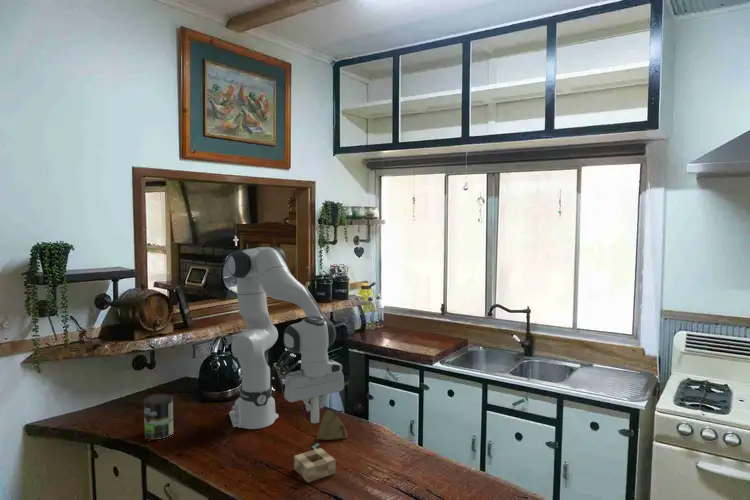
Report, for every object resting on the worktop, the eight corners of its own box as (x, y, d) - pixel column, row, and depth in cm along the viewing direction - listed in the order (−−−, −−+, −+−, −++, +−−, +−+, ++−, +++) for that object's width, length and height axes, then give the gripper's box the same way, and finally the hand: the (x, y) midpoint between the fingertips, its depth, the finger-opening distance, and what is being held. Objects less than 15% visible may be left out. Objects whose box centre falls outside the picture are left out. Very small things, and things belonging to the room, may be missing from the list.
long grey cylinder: (309, 420, 161) (309, 391, 161) (316, 418, 163) (316, 389, 162) (313, 423, 159) (313, 393, 158) (320, 421, 161) (320, 391, 160)
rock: (353, 428, 190) (332, 419, 195) (348, 416, 184) (327, 407, 189) (339, 453, 183) (317, 443, 188) (333, 441, 178) (311, 431, 183)
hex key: (310, 446, 179) (310, 445, 179) (318, 444, 181) (318, 443, 181) (325, 459, 170) (325, 457, 170) (333, 456, 172) (333, 455, 172)
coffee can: (157, 443, 181) (157, 405, 180) (138, 437, 185) (137, 400, 184) (179, 432, 190) (179, 396, 189) (160, 427, 194) (159, 392, 193)
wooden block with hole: (294, 468, 164) (294, 455, 163) (320, 460, 169) (321, 447, 169) (307, 482, 155) (307, 468, 155) (335, 473, 161) (335, 460, 161)
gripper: (289, 375, 151) (289, 419, 152) (346, 364, 163) (346, 405, 164) (280, 370, 157) (281, 412, 158) (336, 360, 168) (336, 399, 169)
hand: (314, 409), depth 161 cm, fingers closed on long grey cylinder, 3 cm apart
